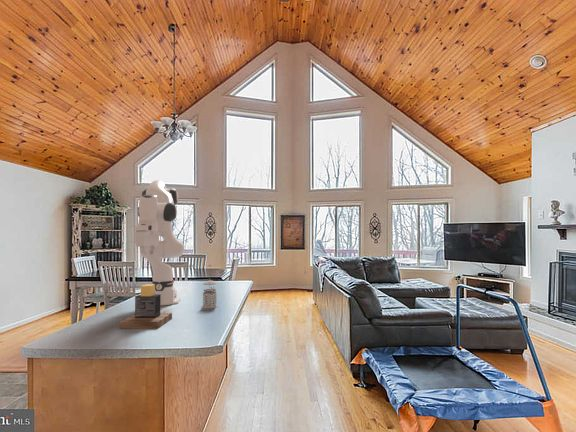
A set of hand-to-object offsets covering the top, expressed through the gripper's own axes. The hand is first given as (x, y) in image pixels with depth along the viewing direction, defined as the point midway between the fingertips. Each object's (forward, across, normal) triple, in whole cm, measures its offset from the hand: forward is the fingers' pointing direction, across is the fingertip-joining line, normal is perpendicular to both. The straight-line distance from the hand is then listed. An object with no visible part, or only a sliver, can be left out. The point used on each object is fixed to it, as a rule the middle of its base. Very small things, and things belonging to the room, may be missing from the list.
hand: (148, 255), depth 173 cm
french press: (+33, -37, +22) cm, 54 cm away
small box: (+30, -1, 0) cm, 30 cm away
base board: (+33, 0, 0) cm, 33 cm away
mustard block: (+20, 0, 0) cm, 20 cm away
